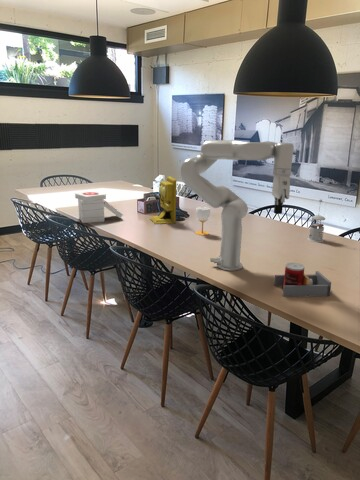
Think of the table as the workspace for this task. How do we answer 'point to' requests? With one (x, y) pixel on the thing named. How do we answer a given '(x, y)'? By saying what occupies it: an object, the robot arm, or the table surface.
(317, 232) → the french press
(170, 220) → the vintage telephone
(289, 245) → the table surface
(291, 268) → the canned food
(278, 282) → the frame
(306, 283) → the pusher
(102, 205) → the pizza boxes
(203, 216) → the cup
